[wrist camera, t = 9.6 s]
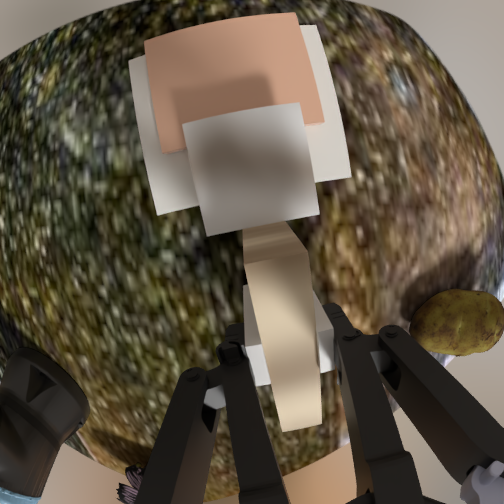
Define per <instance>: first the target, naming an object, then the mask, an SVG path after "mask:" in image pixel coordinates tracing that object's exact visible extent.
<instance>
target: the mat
mask: <svg viewBox="0 0 504 504" xmlns="http://www.w3.org/2000/svg"><path fill="white" fill-rule="evenodd" d="M299 26H300V29H301V32H302V35H303V38H304V42H305V45H306V48H307V52H308V55H309V59H310V62H311V66H312V70H313V73H314V77H315V81H316V85H317V89H318V93H319V97H320V102H321V106H322V111H323V115H324V120H325V122H324V123H322V124H320V125H313V126H305V131H306V136H307V141H308V146H309V151H310V157H311V163H312V169H313V174H314V181H315V182H321V181H328V180H334V179H341V178H348V177H351V170H350V164H349V157H348V151H347V146H346V140H345V135H344V129H343V124H342V119H341V115H340V110H339V106H338V101H337V97H336V93H335V89H334V85H333V81H332V77H331V73H330V70H329V66H328V62H327V59H326V55H325V52H324V49H323V46H322V42H321V39H320V36H319V33H318V30H317V27H316V25H299ZM129 70H130V78H131V86H132V93H133V100H134V106H135V112H136V118H137V124H138V130H139V135H140V140H141V145H142V150H143V155H144V160H145V165H146V169H147V174H148V178H149V183H150V187H151V191H152V195H153V199H154V203H155V207H156V211H157V215H161V214H165V213H169V212H173V211H177V210H181V209H185V208H190V207H194V206H198V205H199V201H198V196H197V192H196V188H195V183H194V179H193V174H192V170H191V165H190V160H189V156H188V151H187V149H185V150H181V151H178V152H174V153H171V154H162V149H161V144H160V139H159V134H158V129H157V124H156V119H155V113H154V107H153V101H152V95H151V89H150V83H149V76H148V69H147V62H146V54H145V55H143V56H140V57H137V58H135V59H132V60H129Z"/></svg>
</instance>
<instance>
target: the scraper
mask: <svg viewBox="0 0 504 504" xmlns="http://www.w3.org/2000/svg"><path fill="white" fill-rule="evenodd" d="M182 126H183V131H184V136H185V141H186V146H187V151H188V156H189V160H190V165H191V170H192V174H193V179H194V183H195V188H196V192H197V196H198V201H199V205H200V209H201V214H202V218H203V222H204V226H205V230H206V234H207V236H212V235H216V234H221V233H226V232H231V231H236V230H241V229H242V230H243V256H244V267H245V272H246V276H247V281H248V285H249V290H250V294H251V299H252V303H253V308H254V312H255V317H256V321H257V325H258V330H259V334H260V338H261V341H262V345H263V349H264V354H265V358H266V362H267V366H268V371H269V375H270V380H271V386H272V390H273V394H274V398H275V403H276V407H277V411H278V415H279V419H280V424H281V428H282V432H285V431H290V430H296V429H300V428H305V427H310V426H314V425H318V424H322V414H321V390H320V372H319V362H318V349H317V337H316V320H315V309H314V300H313V290H312V281H311V273H310V264H309V257H308V251H307V250H306V248H305V247H304V246H303V244H302V243H301V242H300V240H299V239H298V238H297V236H296V235H295V234H294V232H293V231H292V230H291V228H290V227H289V226H288V224H287V223H286V222H285V221H286V220H292V219H297V218H302V217H308V216H313V215H319V207H318V200H317V194H316V187H315V181H314V174H313V169H312V163H311V157H310V151H309V146H308V141H307V136H306V131H305V126H304V121H303V116H302V111H301V107H300V102H297V103H289V104H281V105H273V106H266V107H260V108H254V109H248V110H242V111H237V112H232V113H227V114H222V115H217V116H213V117H209V118H204V119H200V120H196V121H192V122H188V123H185V124H182Z"/></svg>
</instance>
